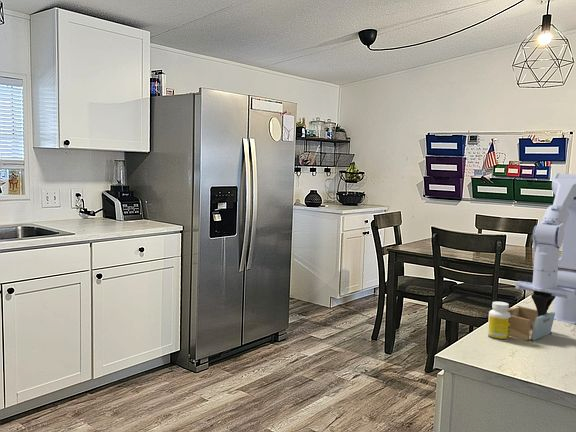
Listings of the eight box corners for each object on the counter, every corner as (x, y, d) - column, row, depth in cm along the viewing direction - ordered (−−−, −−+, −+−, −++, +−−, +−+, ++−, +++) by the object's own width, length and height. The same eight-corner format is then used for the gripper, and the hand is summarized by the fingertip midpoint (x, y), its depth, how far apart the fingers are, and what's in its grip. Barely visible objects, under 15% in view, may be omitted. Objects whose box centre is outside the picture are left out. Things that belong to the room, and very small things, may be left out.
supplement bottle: (511, 343, 135) (513, 306, 134) (489, 342, 136) (491, 305, 136) (506, 337, 141) (509, 301, 140) (485, 335, 142) (487, 299, 141)
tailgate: (547, 332, 143) (552, 311, 141) (551, 333, 142) (556, 313, 141) (530, 338, 137) (535, 317, 135) (534, 340, 136) (539, 319, 135)
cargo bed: (516, 326, 151) (517, 305, 150) (552, 335, 143) (553, 313, 142) (494, 334, 143) (495, 312, 142) (530, 344, 135) (532, 321, 135)
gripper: (511, 266, 141) (507, 316, 142) (567, 276, 129) (563, 330, 131) (524, 264, 145) (520, 312, 146) (579, 273, 134) (575, 325, 135)
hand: (541, 320), depth 139 cm, fingers closed, pressing on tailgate
